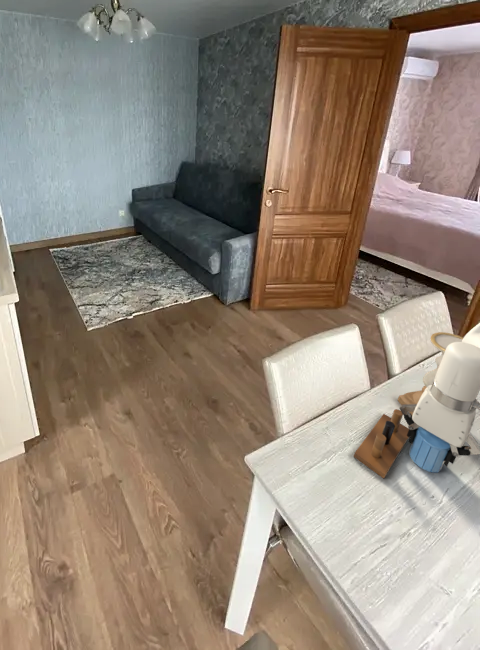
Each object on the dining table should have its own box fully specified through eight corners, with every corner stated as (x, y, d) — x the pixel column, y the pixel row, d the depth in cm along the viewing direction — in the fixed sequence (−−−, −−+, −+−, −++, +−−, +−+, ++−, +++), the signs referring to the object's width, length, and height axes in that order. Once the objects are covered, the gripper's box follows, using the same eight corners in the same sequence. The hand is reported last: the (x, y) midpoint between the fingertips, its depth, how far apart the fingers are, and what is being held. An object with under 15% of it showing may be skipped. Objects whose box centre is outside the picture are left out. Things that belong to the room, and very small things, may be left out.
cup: (439, 454, 86) (449, 431, 83) (443, 477, 80) (454, 453, 77) (408, 442, 89) (417, 419, 86) (409, 463, 83) (419, 440, 80)
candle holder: (428, 395, 103) (453, 329, 94) (462, 426, 93) (494, 355, 84) (396, 399, 101) (419, 332, 92) (427, 432, 91) (456, 360, 82)
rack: (382, 417, 96) (389, 397, 93) (410, 434, 91) (418, 413, 88) (353, 457, 85) (359, 435, 82) (383, 479, 80) (391, 456, 77)
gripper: (506, 410, 73) (477, 467, 79) (413, 366, 85) (395, 418, 92) (499, 430, 68) (469, 489, 75) (402, 380, 80) (383, 434, 87)
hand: (428, 450), depth 83 cm, fingers closed on cup, 6 cm apart
